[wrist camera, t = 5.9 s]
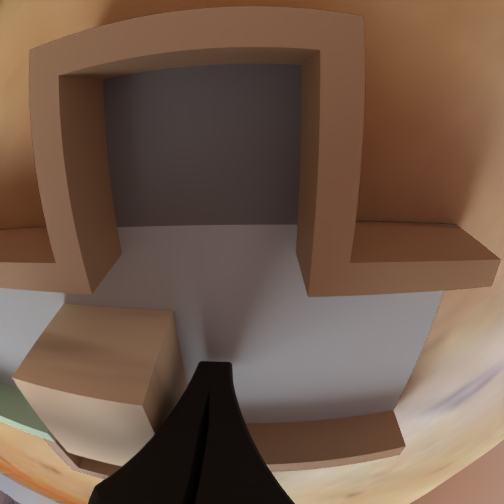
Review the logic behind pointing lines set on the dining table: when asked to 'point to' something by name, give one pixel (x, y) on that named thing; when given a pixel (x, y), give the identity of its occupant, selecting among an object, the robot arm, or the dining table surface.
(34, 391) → the maple block
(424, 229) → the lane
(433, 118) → the dining table surface
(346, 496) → the dining table surface
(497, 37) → the dining table surface
